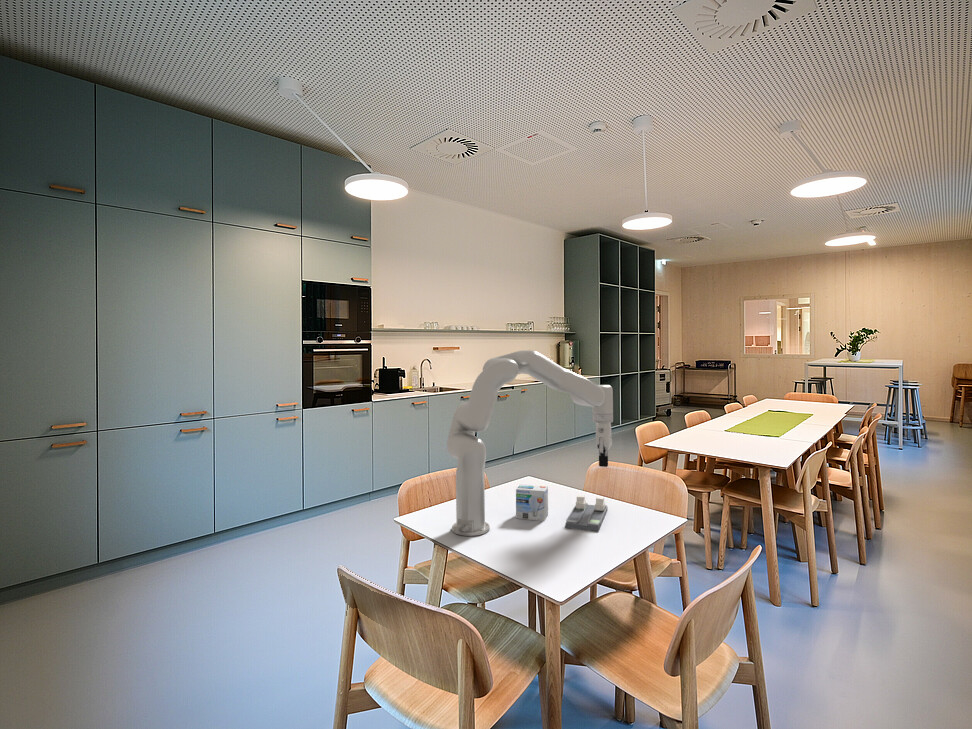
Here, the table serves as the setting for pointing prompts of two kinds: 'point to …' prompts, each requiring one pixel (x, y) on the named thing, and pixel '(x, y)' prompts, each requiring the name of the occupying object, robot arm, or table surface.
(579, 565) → the table surface
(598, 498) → the tab
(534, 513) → the light bulb box
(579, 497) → the tab
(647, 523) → the table surface
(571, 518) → the switch board
